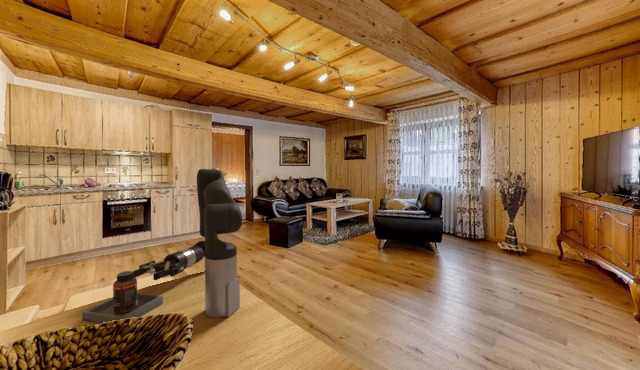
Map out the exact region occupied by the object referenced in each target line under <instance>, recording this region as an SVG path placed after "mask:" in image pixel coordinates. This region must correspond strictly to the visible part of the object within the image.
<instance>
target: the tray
mask: <svg viewBox="0 0 640 370" xmlns="http://www.w3.org/2000/svg"><path fill="white" fill-rule="evenodd" d="M163 296H164V295H158V294H152V293H151V294H150V293H144V292H143V293H142V292H137V298H138V306H137V307H136V308H135V309H134V310H132V311H130V312H127V313H121V314H118V313H115V312H114V303H113V297H112V298H111V299H108V300H106V301H103V302H102V303H100V304H97V305H95V306H93V307H90V308H89V309H85V310H83V311H82V312H81V315H82V316H81V317H82V319H81V320H82V322H88V323H91V324H92V323H94V324H98V323H103V322H108V321H112V320H120V319H126V318H132V317H139V318H140V317H142V316H144V315H146V314H148V313H149V312H151V311H153V310H154V309H156V308H157V307H159V306H161V305H163V304H164V299H163Z"/></svg>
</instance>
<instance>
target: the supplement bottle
mask: <svg viewBox="0 0 640 370" xmlns="http://www.w3.org/2000/svg"><path fill="white" fill-rule="evenodd" d="M112 292H113V293H112V295H113V296H112V298H113V303H114V312H115V313H118V314H121V313H127V312H130V311H132V310H134V309H135V308H136V307H137V306H138V298H137V293H138V279H137V277H136V278H134V277H133V270H127V271H121V272H119V273H117V274H116V280H115V281H114V282H113V284H112Z"/></svg>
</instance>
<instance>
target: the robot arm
mask: <svg viewBox="0 0 640 370" xmlns="http://www.w3.org/2000/svg"><path fill="white" fill-rule="evenodd" d="M196 189H197V190H196V191H197V192H196V193H197V202H198V203H197V204H198V211H199V235H200V236H201V237H203V238H204V240H200V241H197V242H196V243H195V244H194V245H192V246H191V247H188V248H186V249H181V250H177V251H175V252H172V253H169V254H167V255H166V256H165V257H164V259H163V260H160V261H158V262H156V261H155V260H152V261H148V262H147V263H144V264H140V265H139V267H138V269H135V270H132V272H133V277H134V278H136V279H137V278H138V277H140V276H143V275H145V274H146V275H147V274H151V275H152V274H153V275H152V276H153V277H152V278H153V279H152V280H153V281H158V280H161V278H167V277H171V278H172V277H175V276H177V275H178V274H180V273H182V272H184V270H186V269H188V268H190V267H191V266H193V265H196V264H197V263H199V262H201V261H202V260H203V259H204V295H205V296H204V303H205V304H204V306H205V307H204V308H205V309H204V310H205V315H206V316H207V317H210V318H214V319H215V318H216V319H218V318H224V317H228V318H229V317H231V316H232V315H233V314H234V313H235V312H236V311H237V310H238V309H239V308H240V307H241V305H240V303H241V302H240V301H241V300H240V299H241V298H240V295H241V294H240V293H241V292H240V291H241V289H240V287H241V286H240V281H241V279H240V277H238V276H237V275H238V268H237V267H238V260H237V259H238V257H237V256H238V253H237V252H238V248H237V245H236V244H234V243H232V242H228V241H224V240H221V239H220V238H219V236H218V235H223V234H224V235H225V234H233V233H236V232H238V231H239V230H240V229H241V228H242V225H243V215H242V211H241V208H240V206H239V205H238V203H237V202H236V200H234V199H233V197H232V194H231V191H230V189H229V187H228V186H227V184H226V180H225V177H224V172H223V171H222V170H220V169H210V168H209V169H208V168H207V169H206V168H205V169H204V168H200V169H198V171H197V174H196Z"/></svg>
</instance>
